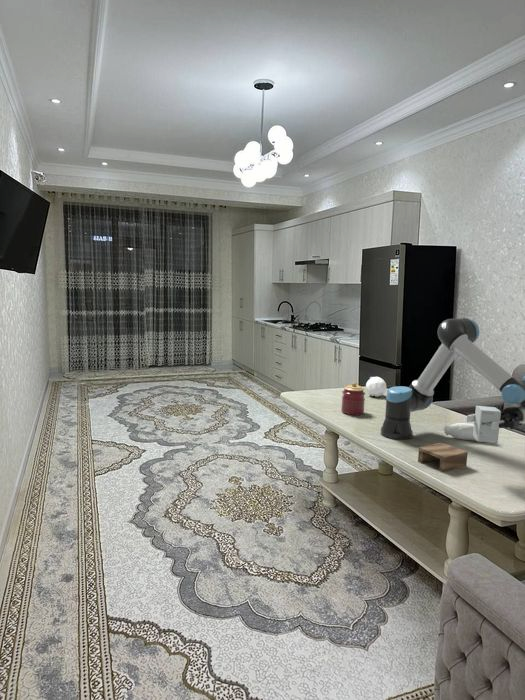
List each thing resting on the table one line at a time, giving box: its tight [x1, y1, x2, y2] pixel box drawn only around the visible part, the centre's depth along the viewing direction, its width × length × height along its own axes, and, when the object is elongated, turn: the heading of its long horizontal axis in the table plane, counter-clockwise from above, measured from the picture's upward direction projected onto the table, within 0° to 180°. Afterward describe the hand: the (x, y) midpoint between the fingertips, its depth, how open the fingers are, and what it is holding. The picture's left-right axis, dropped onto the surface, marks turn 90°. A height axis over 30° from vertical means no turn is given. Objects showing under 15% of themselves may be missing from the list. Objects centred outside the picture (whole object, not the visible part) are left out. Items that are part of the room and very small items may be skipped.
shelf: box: [417, 442, 469, 473], centre depth 201 cm, size 13×14×6 cm
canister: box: [341, 382, 366, 416], centre depth 278 cm, size 13×13×18 cm
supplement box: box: [473, 405, 502, 444], centre depth 188 cm, size 7×7×13 cm
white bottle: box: [443, 422, 478, 442], centre depth 235 cm, size 8×19×8 cm, turn 76°
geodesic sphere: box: [365, 375, 387, 398], centre depth 322 cm, size 14×14×14 cm
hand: (479, 422), depth 185 cm, fingers closed on supplement box, 10 cm apart
